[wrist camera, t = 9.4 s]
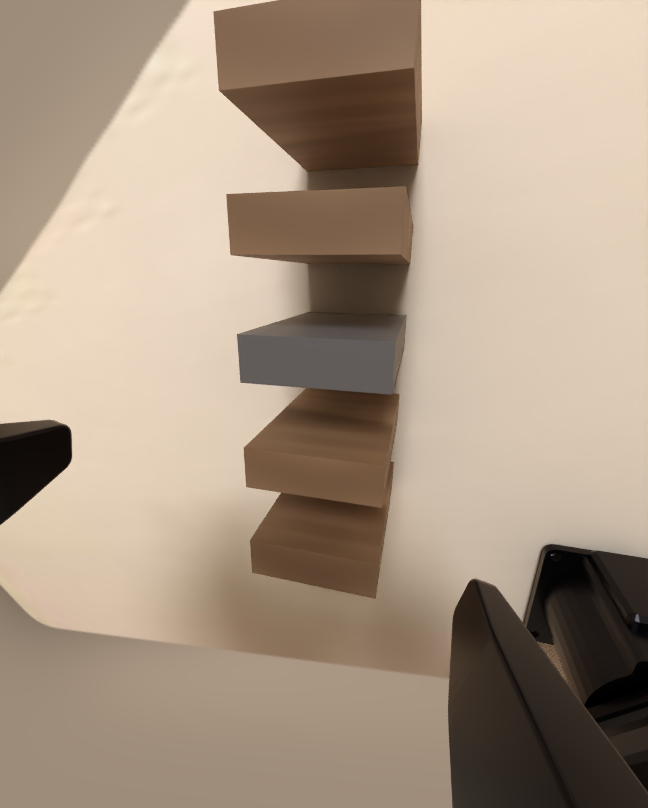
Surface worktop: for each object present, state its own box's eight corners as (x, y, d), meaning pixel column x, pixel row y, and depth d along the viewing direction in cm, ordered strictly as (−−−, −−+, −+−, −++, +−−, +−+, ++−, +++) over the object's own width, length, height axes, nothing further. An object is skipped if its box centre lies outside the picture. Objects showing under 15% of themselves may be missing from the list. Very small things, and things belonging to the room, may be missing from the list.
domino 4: (391, 487, 21) (375, 598, 14) (308, 475, 22) (252, 572, 15) (393, 462, 21) (377, 564, 13) (308, 451, 22) (250, 539, 14)
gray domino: (403, 347, 18) (392, 394, 11) (308, 342, 20) (240, 382, 12) (406, 315, 18) (395, 341, 11) (308, 312, 19) (237, 334, 12)
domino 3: (397, 422, 20) (381, 507, 12) (308, 413, 21) (246, 487, 14) (399, 394, 19) (385, 466, 12) (308, 386, 20) (243, 448, 13)
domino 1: (418, 164, 16) (414, 67, 8) (307, 171, 17) (218, 90, 10) (421, 120, 15) (420, -25, 8) (306, 130, 16) (213, 11, 9)
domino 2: (409, 263, 17) (400, 254, 10) (307, 263, 18) (230, 254, 11) (413, 226, 17) (406, 186, 9) (307, 228, 18) (226, 193, 10)
